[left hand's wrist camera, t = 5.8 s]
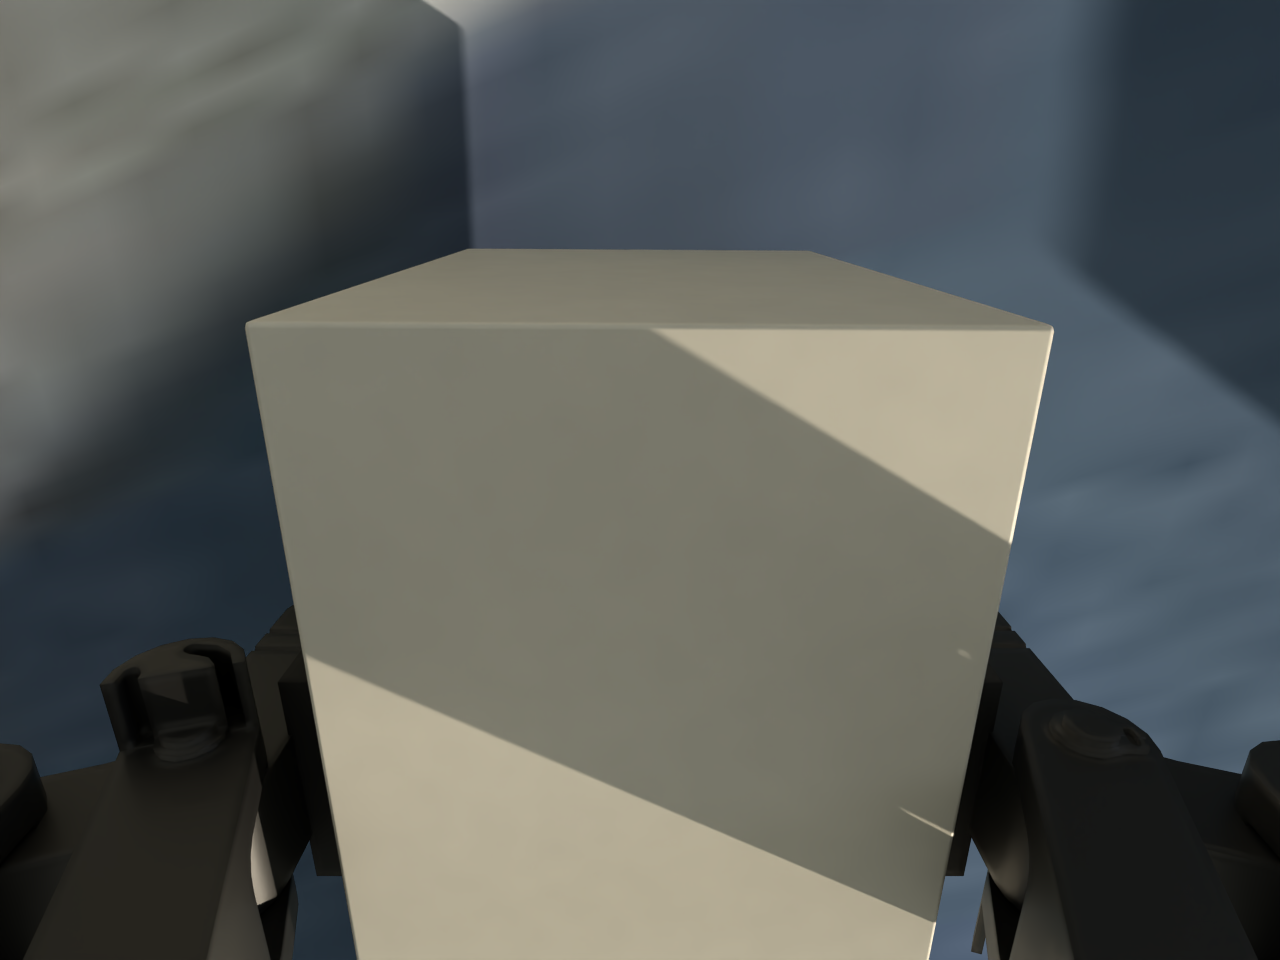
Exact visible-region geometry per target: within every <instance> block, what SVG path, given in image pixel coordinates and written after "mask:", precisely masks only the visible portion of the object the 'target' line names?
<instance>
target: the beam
mask: <svg viewBox="0 0 1280 960" xmlns="http://www.w3.org/2000/svg"><path fill="white" fill-rule="evenodd" d="M245 331H246V336H247V342H248V348H249V353H250V359H251V365H252V370H253V376H254V382H255V387H256V393H257V398H258V404H259V410H260V415H261V421H262V427H263V432H264V438H265V444H266V449H267V455H268V461H269V466H270V472H271V477H272V483H273V489H274V494H275V500H276V506H277V511H278V517H279V523H280V528H281V534H282V539H283V545H284V551H285V556H286V562H287V568H288V573H289V579H290V585H291V590H292V596H293V602H294V607H295V613H296V618H297V624H298V630H299V635H300V641H301V647H302V652H303V658H304V664H305V669H306V675H307V681H308V686H309V692H310V697H311V703H312V709H313V714H314V720H315V726H316V731H317V737H318V743H319V748H320V754H321V759H322V765H323V771H324V776H325V782H326V788H327V793H328V799H329V805H330V810H331V816H332V822H333V827H334V833H335V838H336V844H337V850H338V855H339V861H340V867H341V872H342V878H343V884H344V889H345V895H346V900H347V906H348V912H349V917H350V923H351V929H352V934H353V940H354V946H355V951H356V957H357V960H928V959H929V954H930V949H931V944H932V939H933V934H934V929H935V924H936V919H937V914H938V909H939V904H940V899H941V894H942V889H943V884H944V879H945V874H946V869H947V864H948V859H949V854H950V849H951V844H952V839H953V834H954V829H955V824H956V819H957V814H958V809H959V804H960V799H961V794H962V789H963V784H964V779H965V774H966V769H967V764H968V759H969V754H970V749H971V744H972V739H973V734H974V729H975V724H976V719H977V714H978V709H979V704H980V699H981V694H982V689H983V684H984V679H985V674H986V669H987V664H988V659H989V654H990V649H991V644H992V639H993V634H994V629H995V624H996V619H997V614H998V609H999V604H1000V599H1001V594H1002V589H1003V584H1004V579H1005V574H1006V569H1007V564H1008V559H1009V554H1010V549H1011V544H1012V539H1013V534H1014V529H1015V524H1016V519H1017V514H1018V509H1019V504H1020V499H1021V494H1022V489H1023V484H1024V479H1025V474H1026V469H1027V464H1028V459H1029V454H1030V449H1031V444H1032V439H1033V433H1034V428H1035V423H1036V418H1037V413H1038V408H1039V403H1040V398H1041V393H1042V388H1043V383H1044V378H1045V373H1046V368H1047V363H1048V358H1049V353H1050V348H1051V343H1052V338H1053V333H1054V330H1053V327H1052V326H1050V325H1048V324H1045V323H1042V322H1039V321H1036V320H1032V319H1029V318H1026V317H1023V316H1019V315H1016V314H1013V313H1010V312H1006V311H1003V310H1000V309H997V308H993V307H990V306H987V305H984V304H980V303H977V302H974V301H971V300H967V299H964V298H961V297H957V296H954V295H951V294H948V293H944V292H941V291H938V290H935V289H931V288H928V287H925V286H922V285H918V284H915V283H912V282H909V281H905V280H902V279H899V278H896V277H892V276H889V275H886V274H883V273H879V272H876V271H873V270H870V269H866V268H863V267H860V266H857V265H853V264H850V263H847V262H843V261H840V260H837V259H834V258H830V257H827V256H824V255H821V254H817V253H814V252H811V251H751V250H586V249H466V250H463V251H460V252H457V253H454V254H451V255H448V256H445V257H442V258H439V259H436V260H433V261H430V262H427V263H424V264H421V265H418V266H415V267H412V268H409V269H406V270H403V271H399V272H396V273H393V274H390V275H387V276H384V277H381V278H378V279H375V280H372V281H369V282H366V283H363V284H360V285H357V286H354V287H351V288H348V289H345V290H342V291H339V292H336V293H333V294H330V295H327V296H324V297H321V298H318V299H315V300H312V301H309V302H306V303H303V304H300V305H297V306H294V307H291V308H288V309H285V310H282V311H279V312H276V313H273V314H269V315H266V316H263V317H260V318H257V319H254V320H251V321H249V322H247V323H246V326H245Z"/></svg>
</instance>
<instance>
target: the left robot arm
mask: <svg viewBox="0 0 1280 960" xmlns="http://www.w3.org/2000/svg"><path fill="white" fill-rule="evenodd" d="M100 688H101V691H102V694H103V697H104V701H105V704H106V707H107V711H108V714H109V717H110V720H111V724H112V727H113V730H114V734H115V737H116V740H117V743H118V747H119V750H120V752H119V754H118V757H117V759H116V761H114V762H110V763H106V764H102V765H97V766H92V767H88V768H83V769H78V770H73V771H68V772H64V773H59V774H54V775H49V776H44V777H40V775H39V773H38V770H37V767H36V764H35V761H34V759H33V756H32V754H31V753H30V752H29V751H27V750H26V749H24V748H23V747H21V746H20V745H11V744H1V743H0V960H292V955H293V947H294V938H295V929H296V920H297V912H298V898H297V891H296V885H295V881H294V876H293V871H294V869H295V867H296V866H297V864H298V862H299V860H300V858H301V856H302V854H303V852H304V850H305V848H306V846H307V844H308V842H309V840H310V844H311V849H312V854H313V859H314V864H315V869H316V874H317V876H342V872H341V867H340V861H339V855H338V850H337V844H336V838H335V833H334V827H333V822H332V816H331V810H330V805H329V799H328V793H327V788H326V782H325V776H324V771H323V765H322V759H321V754H320V748H319V743H318V737H317V731H316V726H315V720H314V714H313V709H312V703H311V697H310V692H309V686H308V681H307V675H306V669H305V664H304V658H303V652H302V647H301V641H300V635H299V630H298V624H297V618H296V613H295V607H294V605H293V606H291V607H289V608H288V609H287V610H286V611H285V612H284V613H283V614H282V616H281V617H280V618H279V619H278V620H277V621H276V623H275V624H274V625H273V626H272V627H271V629H270V633H266V634H265V636H264V637H263V638H262V639H261V640H260V642H259V643H258V644H257V645H256V646H255V651H251V652H250V653H249V655H248V656H247V657H245V653H244V649H243V648H241V647H240V646H239V645H237V644H236V643H235V642H233V641H230V640H224V639H219V638H214V637H213V638H196V639H186V640H182V641H178V642H174V643H169V644H165V645H161V646H159V647H156V648H154V649H151V650H149V651H146V652H144V653H141V654H139V655H136V656H134V657H133V658H131V659H130V660H128V661H127V662H125V663H123V664H122V665H120V666H119V667H117V668H115V669H114V670H113V671H112V672H111V673H110V674H109V675H108V676H107V677H106V678H105V680H104V681H103V682H102V683H101V684H100ZM971 837H972V839H973V841H974V843H975V845H976V847H977V849H978V851H979V853H980V855H981V857H982V859H983V861H984V863H985V864H986V866H987V868H988V872H987V876H986V881H985V885H984V890H983V895H982V899H981V904H980V908H979V913H978V917H977V922H976V927H975V931H974V936H973V942H972V949H971V952H975V953H979V954H982V950H983V946H984V941H985V938H986V944H987V953H988V960H1280V740H1279V741H1268V742H1262V743H1260V744H1259V745H1257V746H1256V747H1254V748H1253V749H1251V750H1250V752H1249V755H1248V758H1247V761H1246V763H1245V766H1244V769H1243V772H1242V774H1238V773H1233V772H1228V771H1223V770H1218V769H1214V768H1209V767H1204V766H1199V765H1194V764H1189V763H1185V762H1180V761H1176V760H1172V759H1168V758H1164V757H1163V755H1162V753H1161V751H1160V749H1159V748H1158V747H1157V746H1156V744H1155V743H1154V742H1153V740H1152V739H1151V738H1150V736H1149V735H1148V734H1147V733H1146V732H1144V731H1143V730H1141V729H1140V728H1139V727H1137V726H1136V725H1135V724H1133V723H1132V722H1131V721H1129V720H1128V719H1126V718H1124V717H1122V716H1120V715H1118V714H1115V713H1113V712H1111V711H1109V710H1107V709H1105V708H1103V707H1099V706H1096V705H1092V704H1088V703H1084V702H1081V701H1077V700H1073V699H1072V697H1071V696H1070V695H1069V694H1068V693H1067V692H1066V690H1065V689H1064V688H1063V687H1062V686H1061V684H1060V683H1059V682H1058V681H1057V680H1056V679H1055V677H1054V676H1053V675H1052V674H1051V673H1050V672H1049V670H1048V669H1047V668H1046V667H1045V666H1044V665H1043V663H1042V662H1041V661H1040V660H1039V659H1038V658H1037V656H1036V655H1035V654H1034V653H1033V652H1032V651H1031V649H1030V648H1026V644H1025V642H1024V641H1023V640H1022V639H1021V638H1020V637H1019V635H1018V634H1017V633H1016V632H1015V631H1011V626H1010V625H1009V624H1008V622H1007V621H1006V620H1005V619H1004V618H1003V617H1002V615H1001V614H1000V613H999V612H998V614H997V619H996V624H995V629H994V634H993V639H992V644H991V649H990V654H989V659H988V664H987V669H986V674H985V679H984V684H983V689H982V694H981V699H980V704H979V709H978V714H977V719H976V724H975V729H974V734H973V739H972V744H971V749H970V754H969V759H968V764H967V769H966V774H965V779H964V784H963V789H962V794H961V799H960V804H959V809H958V814H957V819H956V824H955V829H954V834H953V839H952V844H951V849H950V854H949V859H948V864H947V869H946V874H945V876H964V871H965V867H966V862H967V857H968V852H969V847H970V842H971Z"/></svg>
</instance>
